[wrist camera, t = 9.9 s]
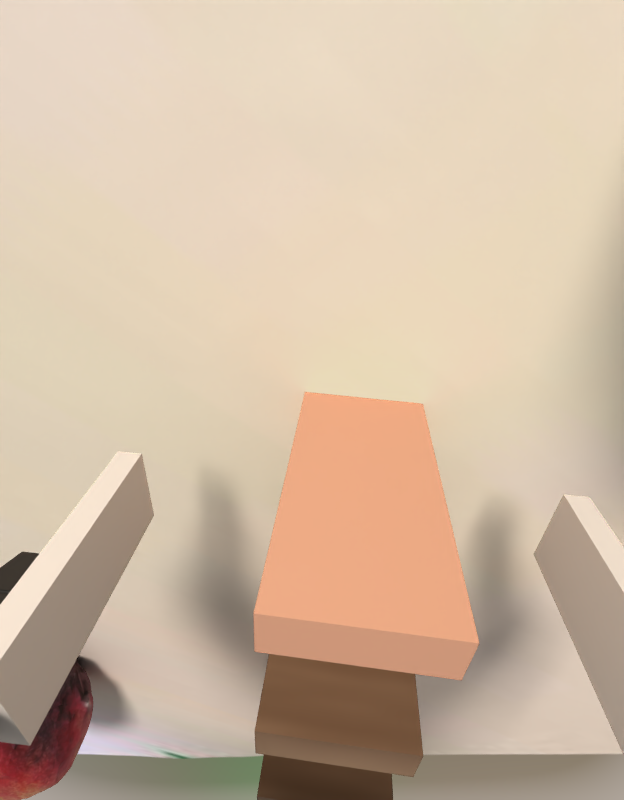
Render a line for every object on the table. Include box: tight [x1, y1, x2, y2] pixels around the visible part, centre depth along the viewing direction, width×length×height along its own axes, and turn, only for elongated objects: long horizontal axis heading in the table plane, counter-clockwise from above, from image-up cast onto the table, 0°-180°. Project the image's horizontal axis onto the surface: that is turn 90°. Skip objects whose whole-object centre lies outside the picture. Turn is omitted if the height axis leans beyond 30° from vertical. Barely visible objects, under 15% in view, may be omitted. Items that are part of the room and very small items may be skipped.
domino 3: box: [257, 754, 393, 800], centre depth 20 cm, size 2×5×10 cm, turn 87°
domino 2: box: [255, 654, 423, 777], centre depth 17 cm, size 2×5×10 cm, turn 87°
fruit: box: [0, 661, 93, 800], centre depth 29 cm, size 8×8×8 cm
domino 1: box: [254, 392, 479, 680], centre depth 14 cm, size 2×5×10 cm, turn 86°
